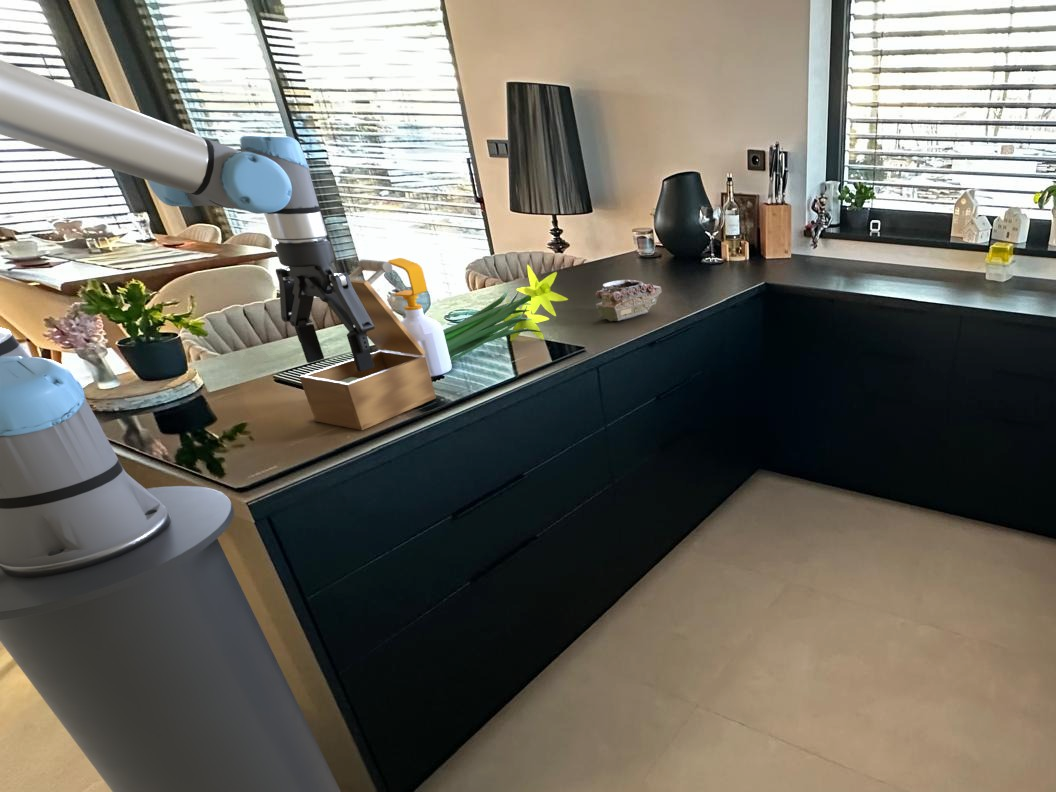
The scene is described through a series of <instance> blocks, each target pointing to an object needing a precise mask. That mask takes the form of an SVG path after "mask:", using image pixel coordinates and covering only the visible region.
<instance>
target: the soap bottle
mask: <svg viewBox="0 0 1056 792" xmlns="http://www.w3.org/2000/svg"><path fill="white" fill-rule="evenodd" d="M387 262H389V263H390V264H391V265H392V266H394V267H397V268H399V269H401V270H403V271H405V272H406V274H407V276H408V281H409V284H410V288H411V289H404V290H401V291H397V292H394V297H402V299H403V300H404V301H406V305H404V306H403V308H404V312H405V318H404V319H402V320H400V322H401V323H402V324H403V325H404V327H405V328H406V329H407V330H408V331H409V333H410V334H411V335H412V336H413V338H414V339H415V340H416V341H417V342H418V344H419V345H420V346H421V347H422V349H423V350H424V351H425V352H426V354H425V355H424V356H423V357H426V361H427V365H428V369H429V372H430V376H431V378H432V377H438V376H442V375H444V374H446V373H449V372H450V371H451V370H452V367H453V365H452V362H451V360H450V359H451V357H450V356H449V352H448V348H447V344H446V340H445V336H444V332H443V330H444V328H443V325H442V324H441V323H440V321H438V320H437V319H434V318H432V317H430V316H427V315H425V313H424V309H423V306H422V304H420V303H417V299H419V297H418V295H421V294H424V293H426V292H427V291H428V285H427V281H426V279H425V274H424V271H423V267H421V265H420V264H418V263H417V262H414V261H410V260H408V259H405V258H403V257H397V258H393V259H389V260H388V261H387ZM399 353H402V352H399ZM403 354H408V353H403ZM410 355H415V354H410ZM416 356H422V355H416Z"/></svg>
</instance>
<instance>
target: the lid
mask: <svg viewBox="0 0 1056 792" xmlns="http://www.w3.org/2000/svg"><path fill="white" fill-rule="evenodd" d="M357 266H358V267H356V268H355V269H354V270H353V271H352V272H351V273H350V274H348V275H349V277H350V281H351V284H352V287H353V289H354V290H355V292H356V294H357V296H358V298H359V299H360V301H361V303H362V305H363V307H364V308H365V310H366V312H367V314H368V315H369V317H370V319H371V321H372V323H373V324H374V327H375V328H374V329H373V330H370V331H367V333H366V335H367V338H368V340H370V341H371V343H372V344H373V345H374V346H375V347H376V348H377V349H378V350H383V351H390V352H397V353H400V352H402V353H408V354H415V355H422V356H424V355H425V354H426V352H425V351H424V350H423V349H422V347H421V346H420V345H419V344H418V342H417V341H416V340H415V339H414V338H413V336H412V335H411V334H410V333H409V331H408V330H407V329H406V328H405V327H404V325H403V324H402V323H401V320H400V319H399V318H398V316H397V315H396V314H395V313H394V312H393V310H392V309H391V308H390V307H389V305H388V304H387V303H386V302H385V301H384V299H383V298H382V297H381V296H380V294H379V293H378V292H377V290H375V289H374V287H373V286H372V285H373V283H374V282H376V280H378V279H379V278H380V277H381V276H382V275H383V274H384V273H386V274H390V273H392V271H393V265H392V264H390V263H389V262H388V261H384V260H375V259H365V258H364V259H363V258H360V259H359V260H358V262H357ZM364 271H367V272H374V273H373V274H372V275H371V276H370V277H369V278H367V279H366V280H365V279H357V277H358V276H359V275H360V274H361V273H362V272H364ZM332 293H334V292H332ZM364 324H365V323H364Z"/></svg>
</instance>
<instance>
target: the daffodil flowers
mask: <svg viewBox="0 0 1056 792" xmlns="http://www.w3.org/2000/svg"><path fill="white" fill-rule="evenodd" d="M526 267H527V269H526V270H527V277H528V281H529V285H530V286H522V287H518V288H516V291H517V292H515V295H514V296H513V298H512V299H511V300H506V303H505V304H502V303H503V302H504V301H505V299H506V297H507V296H508V293H509V290H510V289H509V288H508V289H507V290H506V291H505V292H504V293H503V295H501V296H500V297H499V298H498V299H496V300H495V301H493V302H492V303H490V304H488V305H487V306H485V307H484V308H482V309H481V310H479V311H477V312H475V313H473V314H472V315H470V316H469V317H467V318H465V319H463V320H462V321H460V322H458V323H456V324H453V325H451V326H448V327H446V328H443V332H444V336H445V340H446V344H447V348H448V352H449V356H450V360H451V363H452V362H453V361H455V360H457V359H459V358H461V357H463V356H465V355H467V354H468V353H470V352H473V351H474V350H476V349H477V348H479V347H481V346H483V345H484V344H487V343H490V342H493V341H495V340H499V339H501V338H504V337H508V336H510V337H509V342H513V341H514V340H515V339H516V338H517V337H518V336H519V335H520V334H521V333H523V332H531V333H532V334H533V335H535V336H536V337H538V338H540V339H541V340H545V337H544V334H543V331H542V330H541V329H540V327H539V326H538V325H537V324H538V323H543V322H545V321H549V320H550V318H549V317H548V316H545V315H542V314H536V312H537V311H538V309H539V307H540V306H542V307H543V309H544V310H545V311H546V312H547V313H549V314H550V315H552V316H554V317H557V314H556V311H555V309H554V306H553V305H552V302H565V301H568V300H569V298H567V297H566V296H564V295H562V294H560V293H557V292H555V291H552V290H551V287H552V285H553V284H554V282H555V279H556V277H557V274H558V272H557V271H555V272H552V273H551V274H548V276H546V277H545V278H543V279H542V280H540V281H539V279H538V277H537V275H536V274H535V272H534V270H533V269H532V267H531V266H530V265H529V264H528V263H527V264H526ZM519 293H521V294H522V295H521V296H520V298H519V299H517V300H516V298H517V296H518V294H519ZM523 294H524V295H526V296H524V295H523ZM501 304H502V305H501ZM520 306H521V308H520Z"/></svg>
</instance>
